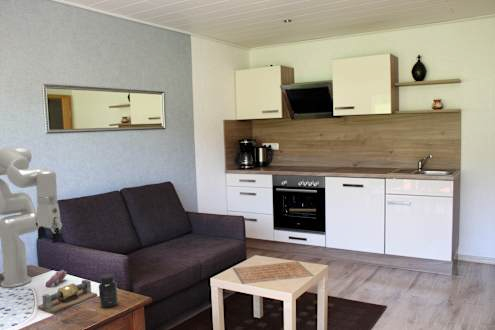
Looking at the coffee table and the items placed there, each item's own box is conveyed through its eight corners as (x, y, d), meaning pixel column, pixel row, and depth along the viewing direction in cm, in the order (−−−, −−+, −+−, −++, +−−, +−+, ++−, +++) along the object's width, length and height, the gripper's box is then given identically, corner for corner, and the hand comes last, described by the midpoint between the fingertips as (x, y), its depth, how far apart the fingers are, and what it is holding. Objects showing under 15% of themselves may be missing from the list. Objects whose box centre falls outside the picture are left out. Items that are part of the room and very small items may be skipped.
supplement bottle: (99, 303, 178) (97, 274, 177) (116, 300, 181) (115, 272, 179) (100, 309, 172) (99, 280, 170) (118, 306, 174) (117, 277, 173)
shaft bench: (37, 308, 174) (36, 293, 174) (80, 291, 191) (79, 277, 190) (54, 314, 168) (53, 299, 168) (97, 296, 185) (96, 282, 184)
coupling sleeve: (70, 293, 183) (70, 282, 183) (78, 296, 181) (77, 285, 180) (57, 298, 178) (57, 287, 178) (65, 301, 176) (64, 290, 175)
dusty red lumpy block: (52, 290, 197) (57, 277, 196) (43, 286, 198) (49, 272, 197) (65, 282, 207) (70, 270, 206) (57, 278, 207) (62, 265, 206)
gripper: (68, 201, 180) (69, 241, 182) (42, 196, 189) (44, 234, 191) (51, 204, 174) (53, 246, 176) (26, 199, 183) (28, 238, 185)
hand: (48, 240), depth 183 cm, fingers open, 9 cm apart
